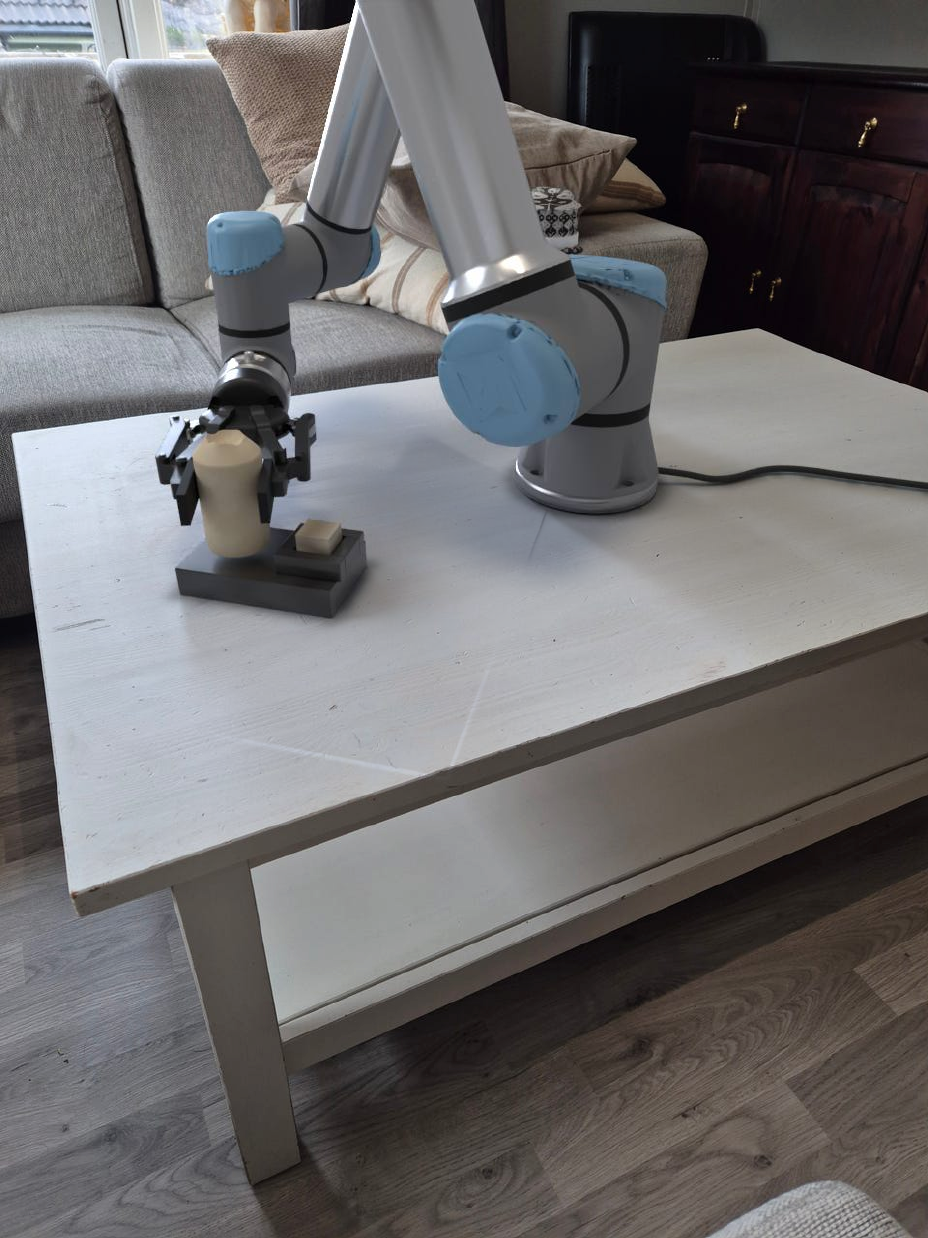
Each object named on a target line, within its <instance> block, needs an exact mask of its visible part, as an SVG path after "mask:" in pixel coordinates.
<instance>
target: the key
mask: <svg viewBox="0 0 928 1238" xmlns="http://www.w3.org/2000/svg"><path fill="white" fill-rule="evenodd" d="M304 523H305V524H304V525H303V526H302V527H301V528H300V530H299V531H298V532H297V533H296V534H295V539H296V548H297V551H302V552H309V553H316V554H323V555H330V556H331V555H332V554H333V553H334V551H335V550H336V549H337V547H338V546H339V545H340V543H341V542H342V529H341V528H342V523H341V522H337V521H336V522H335V521H327V520H321V519H314V518H308V519H307V520H306V521H305V522H304Z"/></svg>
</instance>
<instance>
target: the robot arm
mask: <svg viewBox="0 0 928 1238" xmlns="http://www.w3.org/2000/svg"><path fill="white" fill-rule="evenodd" d="M480 19H481V18H480V16H479V13H478V10H477V6H476V3H475V0H355V5H354V8H353V13H352V17H351V21H350V25H349V29H348V32H347V37H346V40H345V45H344V48H343V53H342V57H341V61H340V65H339V69H338V73H337V77H336V82H335V85H334V89H333V93H332V97H331V102H330V104H329V108H328V114H327V118H326V122H325V126H324V130H323V133H322V138H321V142H320V146H319V149H318V154H317V157H316V162H315V165H314V170H313V174H312V178H311V182H310V186H309V190H308V194H307V198H306V202H305V205H304V208H303V212H302V216H301V220H300V221H298V222H294V223H290V224H287V225H282V223H281V221H280V219H279V217H278V216H277V215H275V214H273V213H270V212H266V211H259V210H239V211H227V212H225V211H224V212H222V213H218V214H215V215H214V216H212V217H211V218H210V219H209V220H208V222H207V225H206V247H207V248H206V249H207V264H208V265H207V266H208V268H209V271H210V277H211V285H212V289H213V290H212V291H213V297H214V303H215V304H214V305H215V310H216V311H215V312H216V317H217V327H218V337H219V338H218V339H219V346H220V353H221V361H222V363H221V368H220V370H219V373H218V377H217V379H216V382H215V384H214V387H213V389H212V393H211V396H210V397H209V401H208V404H207V409H206V411H205V412H203V413H202V414H200V415H199V417H198V420H192V421H191V420H190V419H188V418H185V419H184V416H182V415H180V414H174V415H171V416H169V417H168V419H169V425H170V428H169V429H168V431H167V433H166V435H165V437H164V439H163V441H162V442H161V444H160V446H159V448H158V450H157V451H156V453H155V455H154V458H155V464H156V469H157V475H158V480H159V484H160V485H163V486H167V485H170V489H171V494H172V495H171V496H172V498H173V500H175V501H176V506H177V512H178V517H179V523H180V526H181V527H190V526H192V523H193V520H194V517H195V513H196V510H197V506H198V503H199V501H200V500H199V493H198V487H197V481H196V475H195V469H194V463H193V457H192V454H193V452H194V450H195V449H196V448H197V447H198V445H199V444H200V443H201V442H202V440H203V439H204V437H205V436H206V434H216V433H217V432H218V431H220V430H239V431H240V432H241V433H243V434H244V435H245V436H246V437H248V438H249V439H250V440H252V441H253V442H254V443H256V444H257V445H258V446H259V447H260V449H261V455H262V463H263V464H262V470H261V475H260V480H259V485H258V490H257V498H258V506H259V514H260V522H261V524H263V523H270V524H271V521H272V513H273V509H274V508H273V507H274V500H275V498H285V497H286V496H287V495H288V488H289V484H290V481H291V480H293V479H296V480H297V481H298V482H301V483H303V482H305V483H306V482H309V481H310V480H311V479H312V475H311V474H312V469H311V467H312V466H311V465H312V463H311V462H312V461H311V458H312V457H311V456H312V455H311V447H312V446H313V445H314V444H315V442H316V441H317V439H318V438H317V426H316V423H317V422H316V415H315V414H314V413H311V412H305V413H303V414H302V415H300V417H294V418H293V419H291V417H290V415H289V409H290V404H291V403H290V402H291V397H292V396H291V395H292V389H293V388H292V387H293V382H294V380H295V375H296V373H297V356H296V352H295V351H296V350H295V348H294V345H293V342H292V333H291V332H292V331H291V318H290V317H291V316H290V304H291V303H294V302H298V301H300V300H304V299H308V298H309V297H313V296H315V295H320V294H323V293H326V292H330V291H333V290H337V289H342V288H346V287H349V286H352V285H354V284H356V283H358V282H359V281H361V280H363V279H366V278H368V277H369V276H371V275H372V274H373V273H374V272H375V270H376V269H377V268H378V266H379V263H380V261H381V258H382V250H381V238H380V237H381V236H380V234H379V231H378V229H377V227H376V226H375V224H374V223H375V219H376V215H377V213H378V210H379V207H380V203H381V200H382V198H383V197H382V196H383V194H384V192H385V191H384V190H385V187H386V184H387V181H388V178H389V174H390V172H391V169H392V165H393V162H394V158H395V155H396V153H397V149H398V146H399V144H400V139H401V138H402V140H403V144H404V146H405V150H406V152H407V155H408V159H409V162H410V164H411V167H412V170H413V173H414V177H415V179H416V182H417V185H418V188H419V191H420V194H421V197H422V200H423V203H424V206H425V209H426V212H427V215H428V218H429V221H430V223H431V227H432V229H433V232H434V235H435V239H436V241H437V244H438V246H439V250H440V253H441V256H442V259H443V262H444V265H445V268H446V271H447V273H448V284H447V286H446V289H445V291H444V293H443V296H442V297H441V298H442V299H441V301H440V303H439V305H440V309H441V312H442V315H443V318H444V320H445V325H446V326H447V330H448V332H449V333H448V334H447V335H446V337H445V338H444V341H443V343H442V344H441V346H440V348H441V349H440V352H441V355H440V357H439V358H438V359H437V374H438V377H437V378H438V383H439V386H440V389H441V393H442V395H443V398H444V400H445V402H446V404H447V405H448V408H449V409H450V410H451V412H452V414H453V415H454V416H455V418H457V419H458V422H460V423H461V424H462V425H463V426H464V427H465V428H466V429H467V430H468V431H469V432H471V433H472V434H474V435H478V436H480V437H481V438H483V439H484V440H485V442H488V443H490V444H494V445H497V446H502V447H507V448H521V449H520V451H519V453H518V456H517V459H516V461H515V474H514V475H515V478H514V480H515V484H516V486H517V488H518V489H519V490H520V491H521V492H522V493H523V494H524V495H525V496H527V497H528V498H530V499H531V500H533V501H534V502H537V503H539V504H541V505H544V506H546V507H549V508H553V509H556V510H559V511H560V510H561V511H565V512H570V513H578V514H579V513H580V514H597V515H598V514H612V513H613V514H614V513H620V512H625V511H630V510H632V509H635V508H638V507H641V506H642V505H644V504H646V503H648V502H649V501H650V500H651V499H652V498H653V497H654V496H655V494H656V491H657V490H658V489H657V487H658V481H659V475H665V476H671V477H672V476H673V477H678V478H686V479H691V480H696V481H699V482H705V483H713V484H714V483H717V484H718V483H719V484H720V483H730V482H736V481H740V480H745V479H748V478H751V477H754V476H758V475H762V474H768V473H769V474H771V473H797V474H799V473H800V474H807V475H808V474H809V475H815V476H821V477H829V478H835V479H840V480H841V479H842V480H850V481H857V482H865V483H872V484H873V483H874V484H881V485H889V486H897V487H905V488H912V489H920V490H928V482H927V481H919V480H911V479H903V478H895V477H887V476H879V475H873V474H872V475H871V474H864V473H854V472H847V471H840V470H835V469H834V470H833V469H828V468H826V469H825V468H822V467H821V468H820V467H813V466H806V465H805V466H804V465H791V464H775V465H774V464H773V465H765V466H760V467H755V468H752V469H748V470H745V471H741V472H737V473H732V474H724V475H711V474H704V473H700V472H695V471H690V470H685V469H677V468H672V467H671V468H669V467H664V466H659V465H658V460H657V455H656V450H655V445H654V439H653V434H652V430H651V424H650V411H651V405H652V399H653V392H654V386H655V377H656V370H657V365H658V364H657V363H658V357H659V356H658V355H659V349H660V343H661V338H662V329H663V322H664V317H665V311H666V310H667V306H668V304H667V302H666V299H667V295H666V294H667V285H668V283H667V282H668V280H667V276H666V274H665V273H664V271H663V270H662V269H661V268H659V267H658V266H656V265H652V264H650V263H647V262H642V261H637V260H633V259H632V260H631V259H624V258H618V257H610V256H609V257H608V256H600V255H590V254H589V255H588V254H578V255H568V254H566V253H564V252H562V251H560V250H559V249H557V248H555V247H553V246H552V245H550V244H549V243H548V242H547V241H546V239H545V236H544V233H543V230H542V226H541V223H540V220H539V216H538V213H537V210H536V206H535V203H534V200H533V196H532V193H531V190H530V188H531V187H530V183H529V180H528V177H527V173H526V169H525V166H524V163H523V160H522V156H521V153H520V150H519V147H518V142H517V140H516V137H515V133H514V130H513V127H512V123H511V120H510V117H509V113H508V110H507V106H506V103H505V100H504V97H503V93H502V90H501V86H500V83H499V79H498V76H497V73H496V69H495V66H494V63H493V59H492V57H491V56H492V55H491V53H490V48H489V46H488V43H487V40H486V37H485V36H486V35H485V33H484V29H483V25H482V23H481V20H480ZM290 434H291V437H292V438H294V456H292V457H288V453H287V447H284V448H283V446H282V445H281V443H280V441H279V440H281V439H283V438H285V437H287V436H289V435H290ZM197 435H200V436H198V437H197ZM196 437H197V438H196ZM195 438H196V439H195ZM194 439H195V440H194Z"/></svg>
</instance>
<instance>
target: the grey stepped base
mask: <svg viewBox="0 0 928 1238" xmlns="http://www.w3.org/2000/svg"><path fill="white" fill-rule="evenodd" d="M305 523H306V522H300V523H299V524H298V525H297V526H296V528H295V529H287V528H278V527H272V526H270V533H271V541H270V544H269V546H268V547H267V548H266V549H264V550H263V551H261V552H259V553H257V554H254V555H251V556H246V557H239V558H229V557H222V556H219V555H216V554H214V553H213V552H211V551H210V550H209V548H208V545H207V541H206V537H205V538H204V539H203V540H201V542H200V543H198V544H197V546H195V548H194V549H192V551H190V553H189V554H188V555H186V556H185V558H183V559H182V561H180V562H179V563H178V564H177V565H176V566H175V568H174V572H175V577H176V582H177V587H178V593H179V595H181V596H186V597H193V598H198V599H206V600H212V601H219V602H224V603H230V604H237V605H243V606H250V607H255V608H262V609H267V610H268V609H269V610H275V611H280V612H281V611H282V612H287V613H294V614H301V615H305V616H307V615H308V616H313V617H318V618H325V619H333V617H334V616H335V614H336V613H337V611H338V610H339V608H340V607H341V605H342V604H343V602H344V600H345V599H346V598H347V596H348V594H349V593H350V591H351V590H352V588H353V587H354V586H355V584H356V583H357V582H358V580H359V578H360V577H361V576H362V574H363V572H364V571H365V569H366V567H368V563H367V562H368V561H367V543H366V540H365V531H364V530H357V529H349V528H343V527H341V529H342V542H341V543H340V545H339V546H338V547H337V549H336V550H335V551H334V553H333V554H332V555H331V556H330V555H323V554H316V553H309V552H302V551H297V548H296V539H295V534H296V533H297V532H298V531H299V530H300V528H301V527H302V526H303V525H304V524H305Z"/></svg>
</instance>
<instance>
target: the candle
mask: <svg viewBox="0 0 928 1238" xmlns="http://www.w3.org/2000/svg"><path fill="white" fill-rule="evenodd" d="M192 457H193V463H194V469H195V475H196V481H197V487H198V493H199V500H198V501H199V505H200V511H201V518H202V525H203V531H204V536H205V538H206V541H207V545H208V548H209V550H210V551H211V552H213V553H214V554H216V555H219V556H222V557H229V558H239V557H246V556H251V555H254V554H257V553H259V552H261V551H263V550H264V549H266V548H267V547H268V546H269V544H270V541H271V533H270V527H271V522H270V523H263V524H261V522H260V514H259V506H258V498H257V490H258V485H259V480H260V475H261V470H262V464H263V458H262V455H261V449H260V447H259V446H258V445H257V444H256V443H254V442H253V441H252V440H250V439H249V438H248V437H246V436H245V435H244V434H243V433H241V432H240V431H239V430H220V431H218V432H217V433H216V434H206V436H205V437H204V439H203V440H202V442H201V443H200V444H199V445H198V447H197V448H196V449H195V450H194V452H193V454H192Z"/></svg>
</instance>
